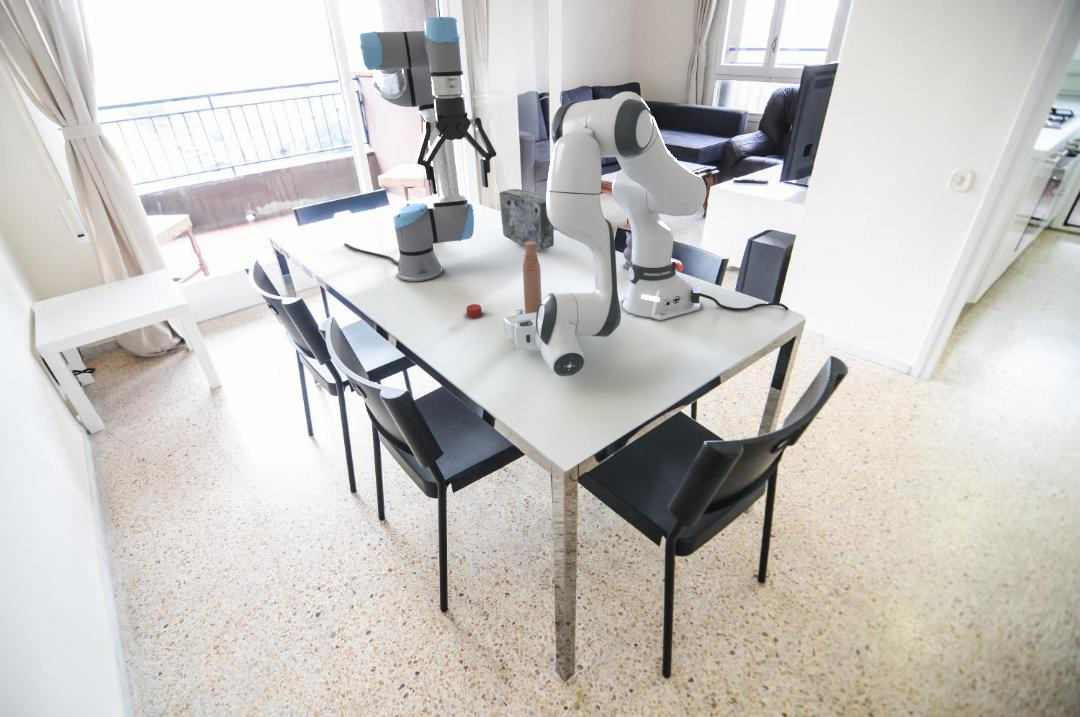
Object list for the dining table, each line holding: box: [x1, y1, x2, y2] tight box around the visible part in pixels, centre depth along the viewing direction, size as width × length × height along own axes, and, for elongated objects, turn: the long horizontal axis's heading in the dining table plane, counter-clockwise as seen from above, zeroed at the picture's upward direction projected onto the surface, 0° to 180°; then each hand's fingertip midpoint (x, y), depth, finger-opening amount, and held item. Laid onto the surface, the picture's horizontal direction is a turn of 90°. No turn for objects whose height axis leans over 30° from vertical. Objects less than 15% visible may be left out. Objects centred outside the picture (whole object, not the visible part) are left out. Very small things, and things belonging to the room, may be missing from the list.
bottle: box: [522, 241, 543, 314], centre depth 134 cm, size 5×5×24 cm
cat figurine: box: [622, 231, 632, 270], centre depth 172 cm, size 8×8×12 cm
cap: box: [465, 303, 483, 319], centre depth 146 cm, size 4×4×3 cm
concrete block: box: [498, 188, 555, 252], centre depth 192 cm, size 27×9×20 cm, turn 36°
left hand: (460, 189), depth 128 cm, fingers open, 13 cm apart
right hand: (536, 309), depth 133 cm, fingers open, 8 cm apart
